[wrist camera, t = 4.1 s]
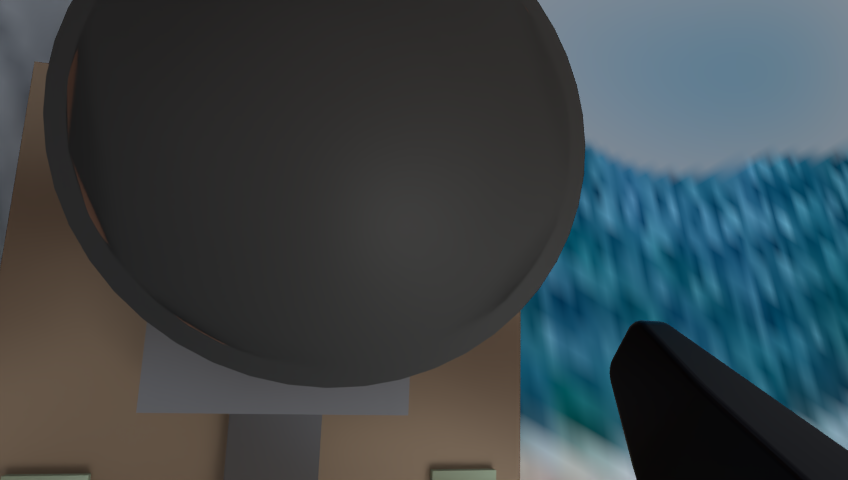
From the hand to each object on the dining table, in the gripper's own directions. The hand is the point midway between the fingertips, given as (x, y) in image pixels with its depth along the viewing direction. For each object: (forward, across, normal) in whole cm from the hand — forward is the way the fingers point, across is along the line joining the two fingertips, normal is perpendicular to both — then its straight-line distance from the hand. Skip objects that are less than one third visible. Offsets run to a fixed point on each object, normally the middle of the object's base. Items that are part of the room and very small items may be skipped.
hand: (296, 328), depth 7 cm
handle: (+5, 0, +4) cm, 6 cm away
